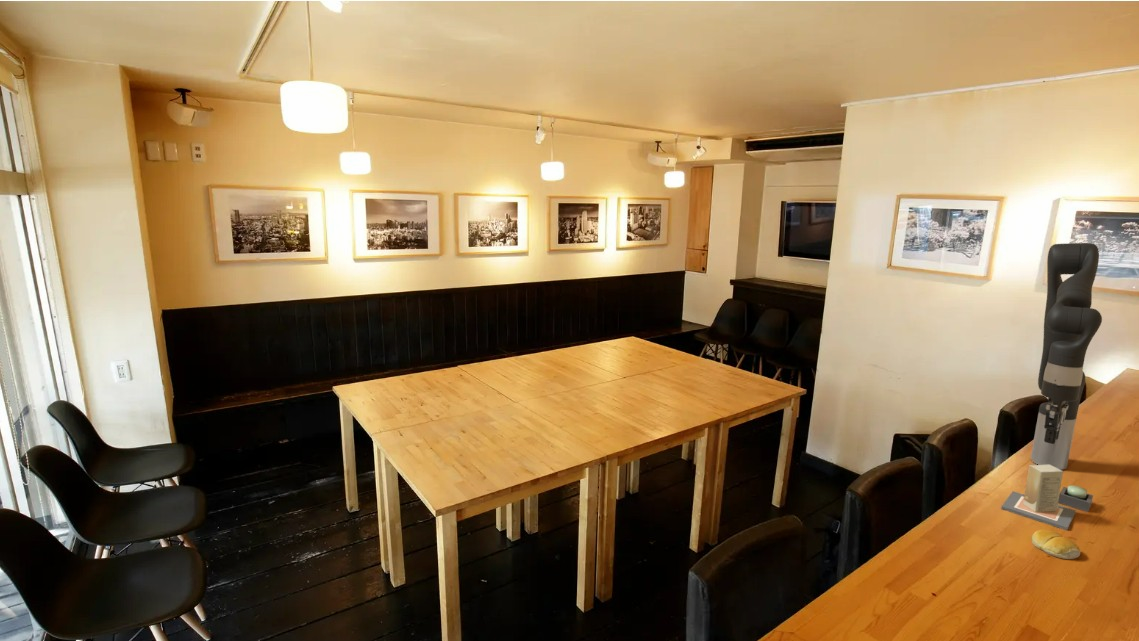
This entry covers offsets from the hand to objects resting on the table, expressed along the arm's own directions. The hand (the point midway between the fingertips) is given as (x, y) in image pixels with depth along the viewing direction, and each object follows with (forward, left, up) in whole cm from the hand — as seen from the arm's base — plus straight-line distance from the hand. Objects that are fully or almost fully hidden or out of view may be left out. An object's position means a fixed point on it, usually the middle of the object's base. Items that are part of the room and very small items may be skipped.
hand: (1051, 440), depth 148 cm
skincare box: (0, 0, -20) cm, 20 cm away
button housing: (-13, +6, -21) cm, 26 cm away
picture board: (0, 0, -21) cm, 21 cm away
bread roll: (+19, +6, -22) cm, 30 cm away
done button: (-13, +6, -18) cm, 23 cm away
